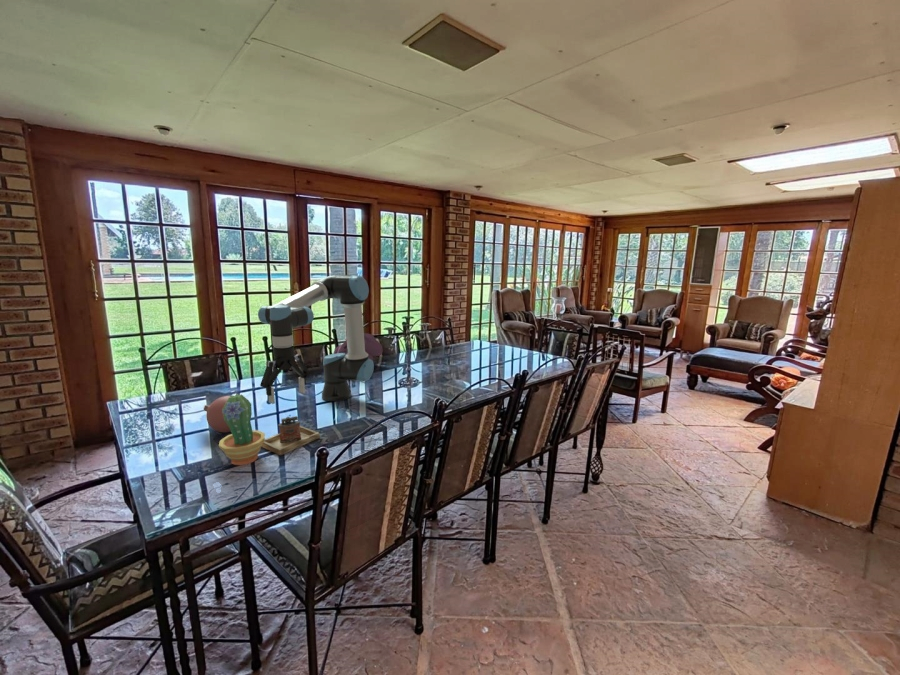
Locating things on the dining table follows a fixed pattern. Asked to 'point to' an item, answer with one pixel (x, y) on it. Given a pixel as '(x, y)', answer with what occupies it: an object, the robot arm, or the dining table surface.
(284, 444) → the tray
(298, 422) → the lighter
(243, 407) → the potted cactus
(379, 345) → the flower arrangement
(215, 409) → the brown rounded piece
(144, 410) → the dining table surface
